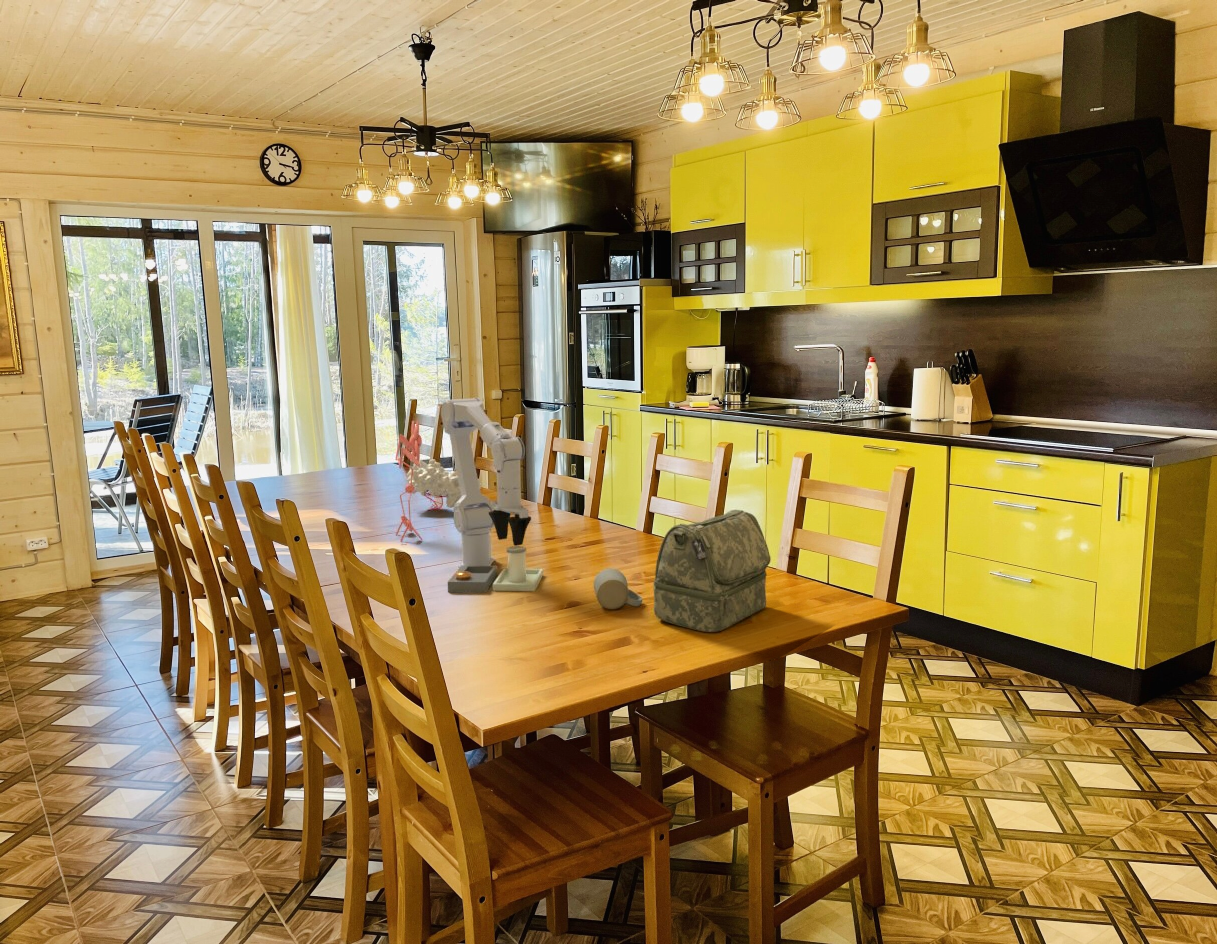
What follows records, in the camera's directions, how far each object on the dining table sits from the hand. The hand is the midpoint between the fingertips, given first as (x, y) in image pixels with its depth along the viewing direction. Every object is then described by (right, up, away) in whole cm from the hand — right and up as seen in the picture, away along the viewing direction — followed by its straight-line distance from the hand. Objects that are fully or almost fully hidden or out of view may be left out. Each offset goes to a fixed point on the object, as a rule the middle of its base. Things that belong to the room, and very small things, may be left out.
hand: (510, 541), depth 221 cm
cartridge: (+2, -9, -1) cm, 9 cm away
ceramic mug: (+26, -13, -19) cm, 35 cm away
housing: (-9, -10, -1) cm, 14 cm away
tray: (+2, -10, 0) cm, 10 cm away
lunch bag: (+46, -14, -27) cm, 55 cm away
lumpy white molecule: (-33, +4, +90) cm, 96 cm away
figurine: (-33, -2, +51) cm, 60 cm away
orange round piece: (-11, -11, -5) cm, 16 cm away
